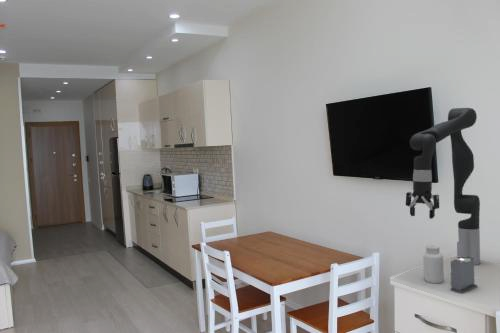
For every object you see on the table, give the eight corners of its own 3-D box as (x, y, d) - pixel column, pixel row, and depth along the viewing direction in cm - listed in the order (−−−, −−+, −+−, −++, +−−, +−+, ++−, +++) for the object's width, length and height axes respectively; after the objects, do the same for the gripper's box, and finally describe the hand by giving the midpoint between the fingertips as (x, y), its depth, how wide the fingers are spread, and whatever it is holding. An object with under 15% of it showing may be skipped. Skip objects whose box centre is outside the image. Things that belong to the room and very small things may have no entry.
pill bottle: (420, 279, 191) (419, 246, 190) (434, 276, 194) (433, 243, 193) (433, 284, 184) (432, 250, 183) (448, 281, 187) (447, 247, 185)
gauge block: (448, 289, 177) (447, 258, 176) (463, 283, 183) (462, 253, 183) (462, 293, 172) (461, 261, 171) (477, 286, 178) (476, 256, 178)
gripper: (442, 180, 184) (442, 218, 185) (411, 178, 195) (411, 214, 196) (434, 181, 179) (433, 220, 180) (402, 179, 190) (402, 216, 191)
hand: (421, 217), depth 188 cm, fingers open, 8 cm apart
